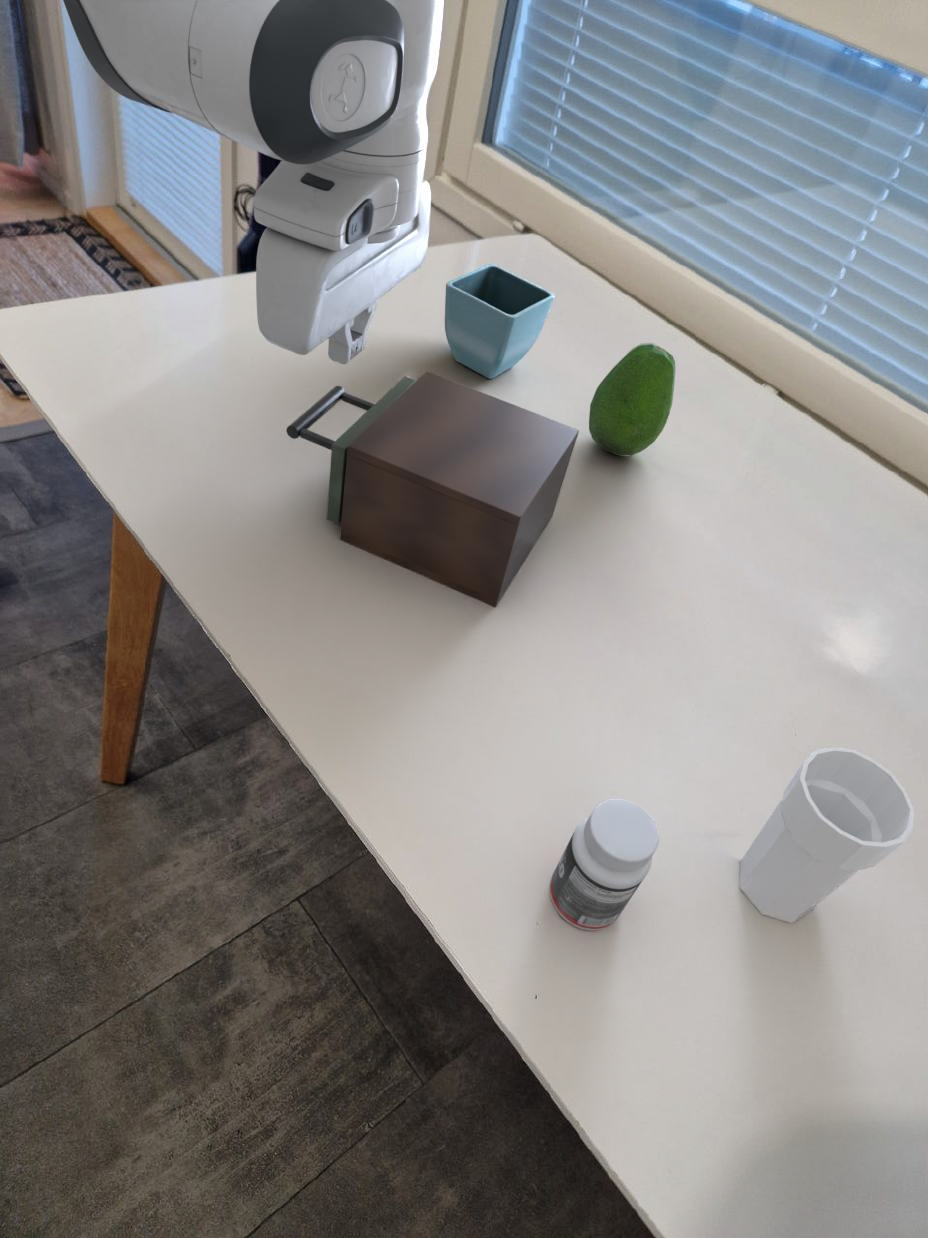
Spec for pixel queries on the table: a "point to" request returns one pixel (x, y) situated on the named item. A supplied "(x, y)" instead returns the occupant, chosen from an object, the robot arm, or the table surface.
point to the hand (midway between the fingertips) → (346, 355)
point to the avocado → (633, 401)
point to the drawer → (346, 438)
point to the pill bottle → (604, 864)
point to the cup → (825, 832)
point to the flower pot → (493, 318)
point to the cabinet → (455, 485)
